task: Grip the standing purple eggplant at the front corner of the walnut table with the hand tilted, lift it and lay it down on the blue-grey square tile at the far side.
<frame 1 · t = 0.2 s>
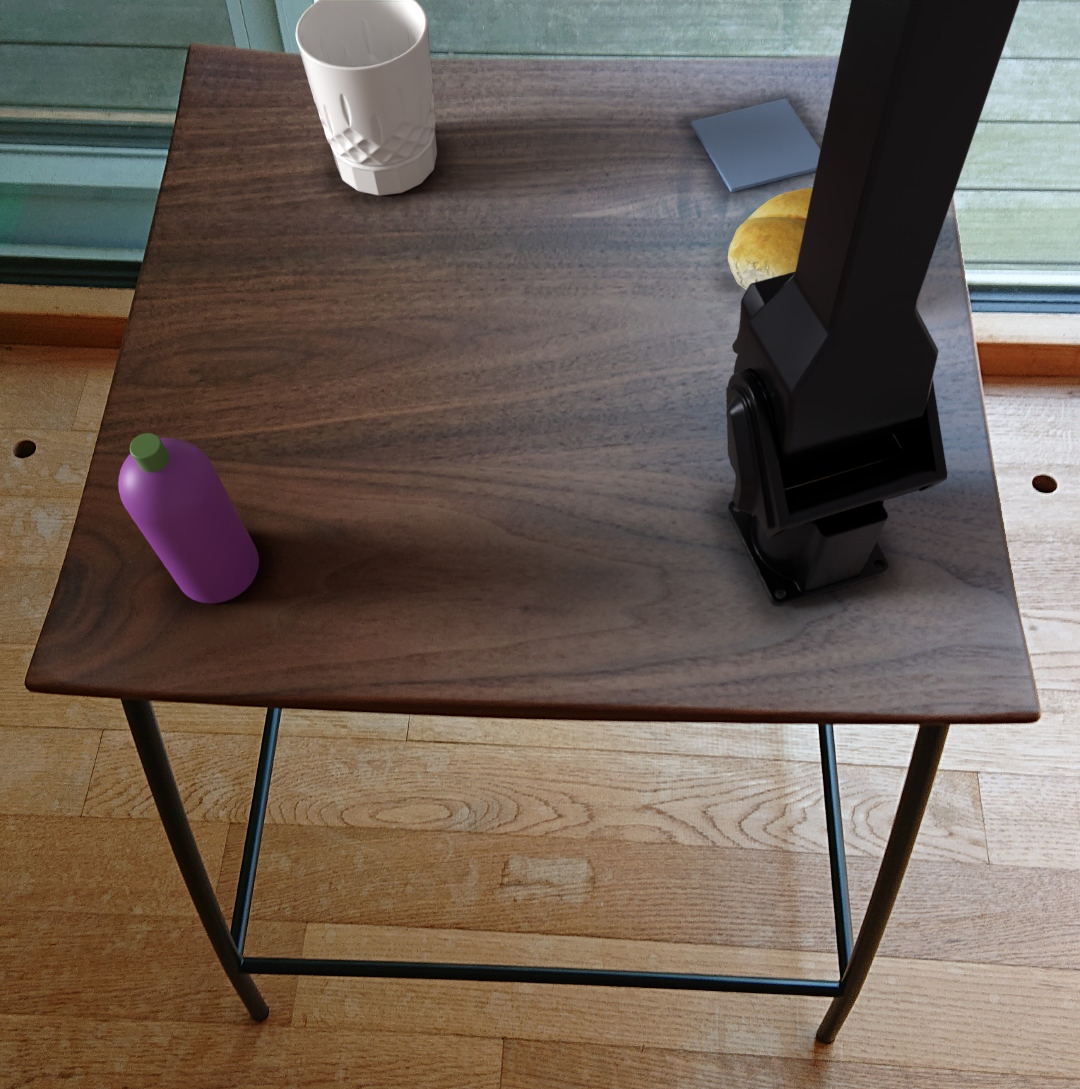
blue-grey square tile: (758, 145, 73), on the table
eggplant: (218, 567, 58), on the table
white cup: (387, 164, 73), on the table
bread roll: (800, 269, 67), on the table
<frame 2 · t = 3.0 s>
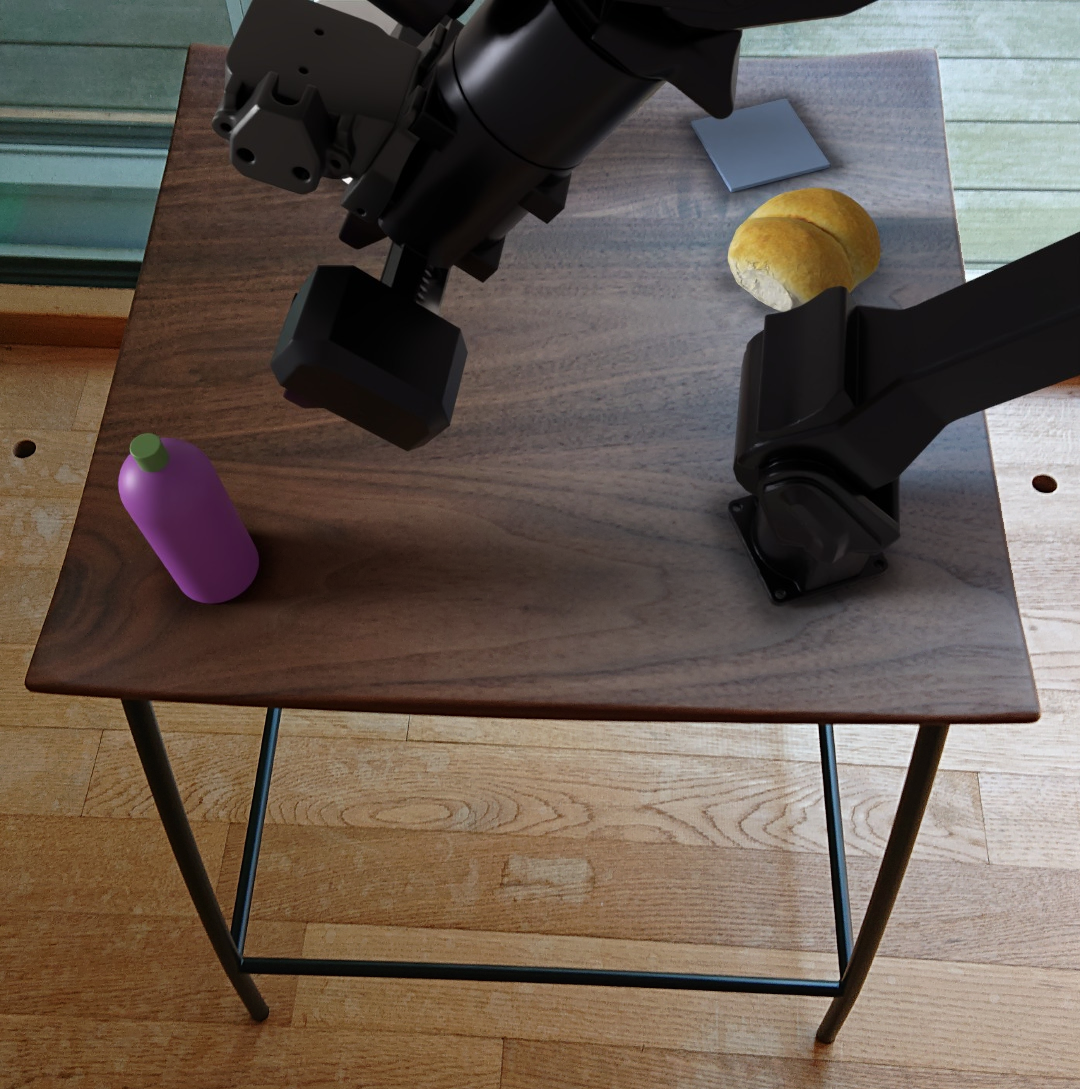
hand: (322, 317, 48), 14 cm above the table, tool tilted 40°, fingers open, 9 cm apart
nothing on the table moved.
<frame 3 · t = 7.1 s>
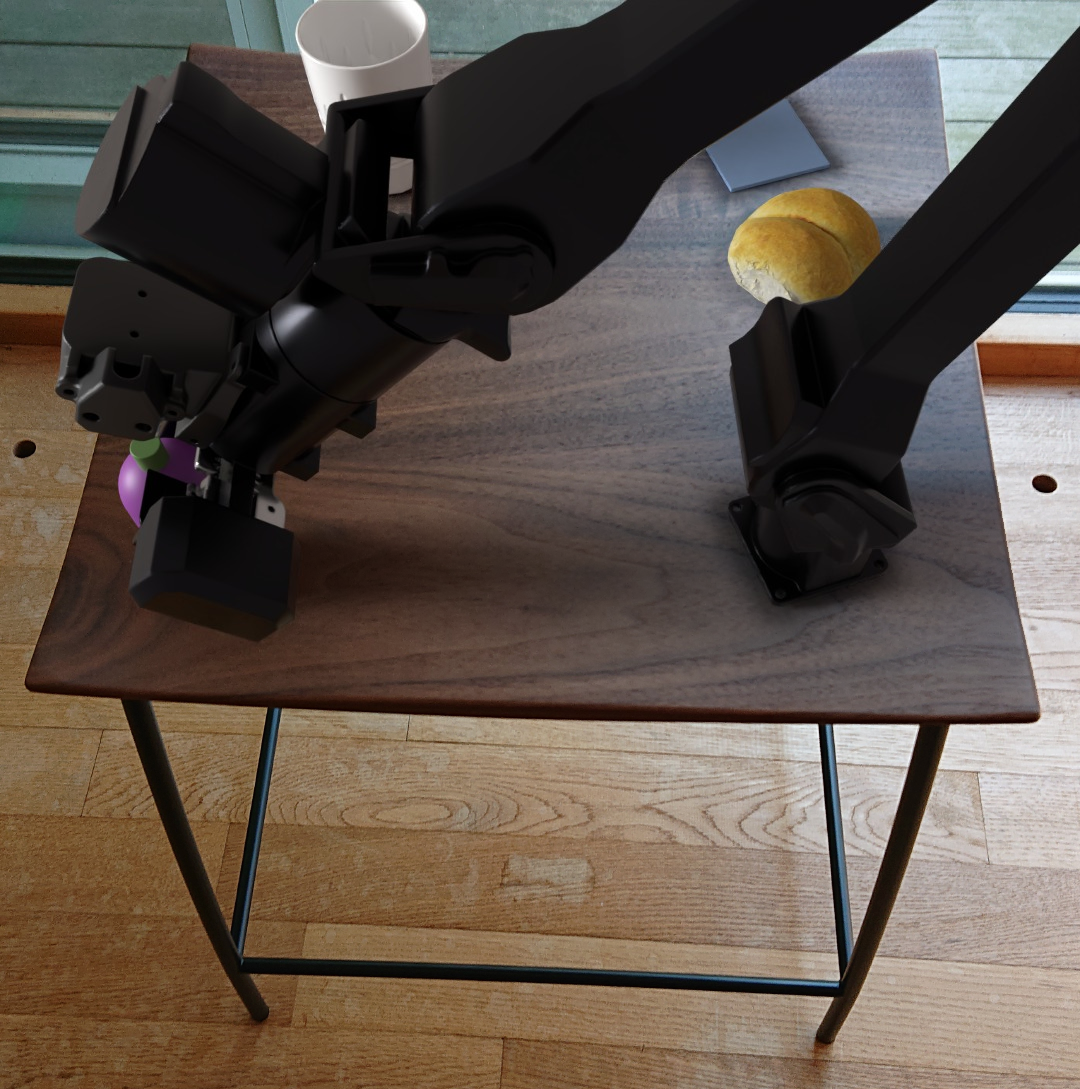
hand: (149, 502, 52), 7 cm above the table, tool tilted 45°, fingers closed on eggplant, 4 cm apart
eggplant: (218, 567, 58), on the table, touching gripper
everything else where it was.
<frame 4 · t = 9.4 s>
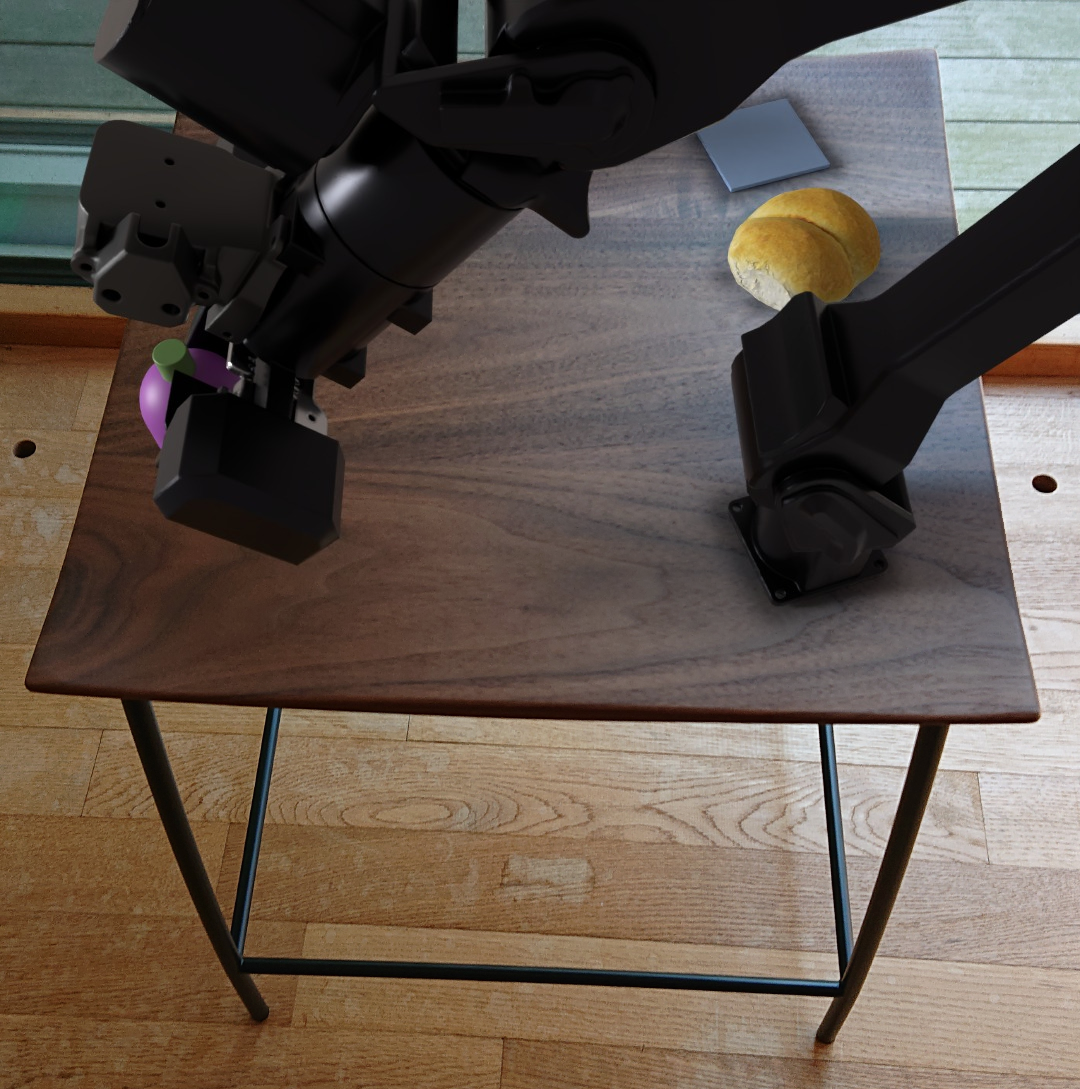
hand: (173, 422, 47), 12 cm above the table, tool tilted 45°, fingers closed on eggplant, 4 cm apart
eggplant: (246, 502, 53), point 6 cm above the table, touching gripper
everything else where it was.
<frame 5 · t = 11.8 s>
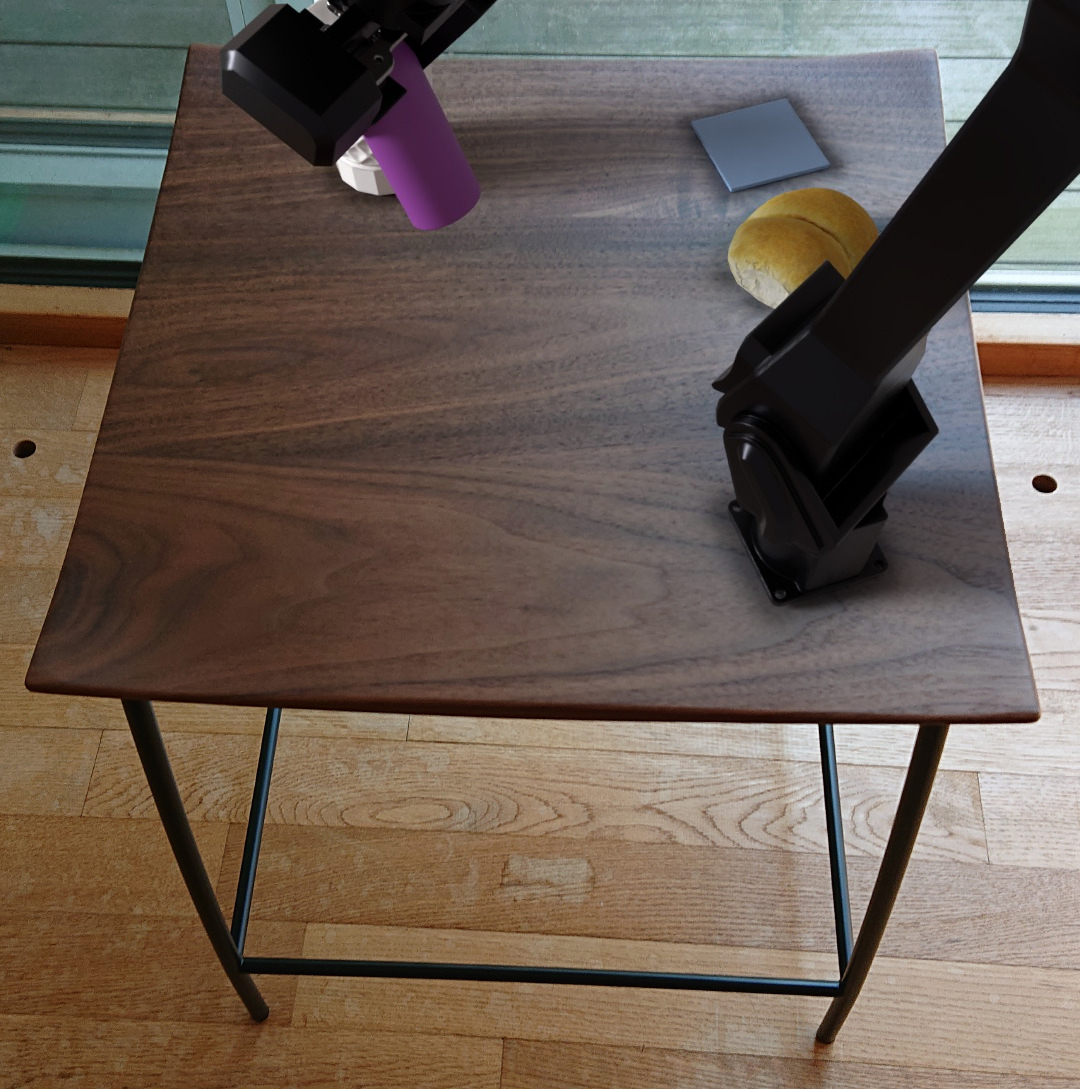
hand: (376, 102, 58), 12 cm above the table, tool tilted 25°, fingers closed on eggplant, 4 cm apart
eggplant: (446, 205, 62), point 6 cm above the table, tilted 22°, touching gripper
everything else where it was.
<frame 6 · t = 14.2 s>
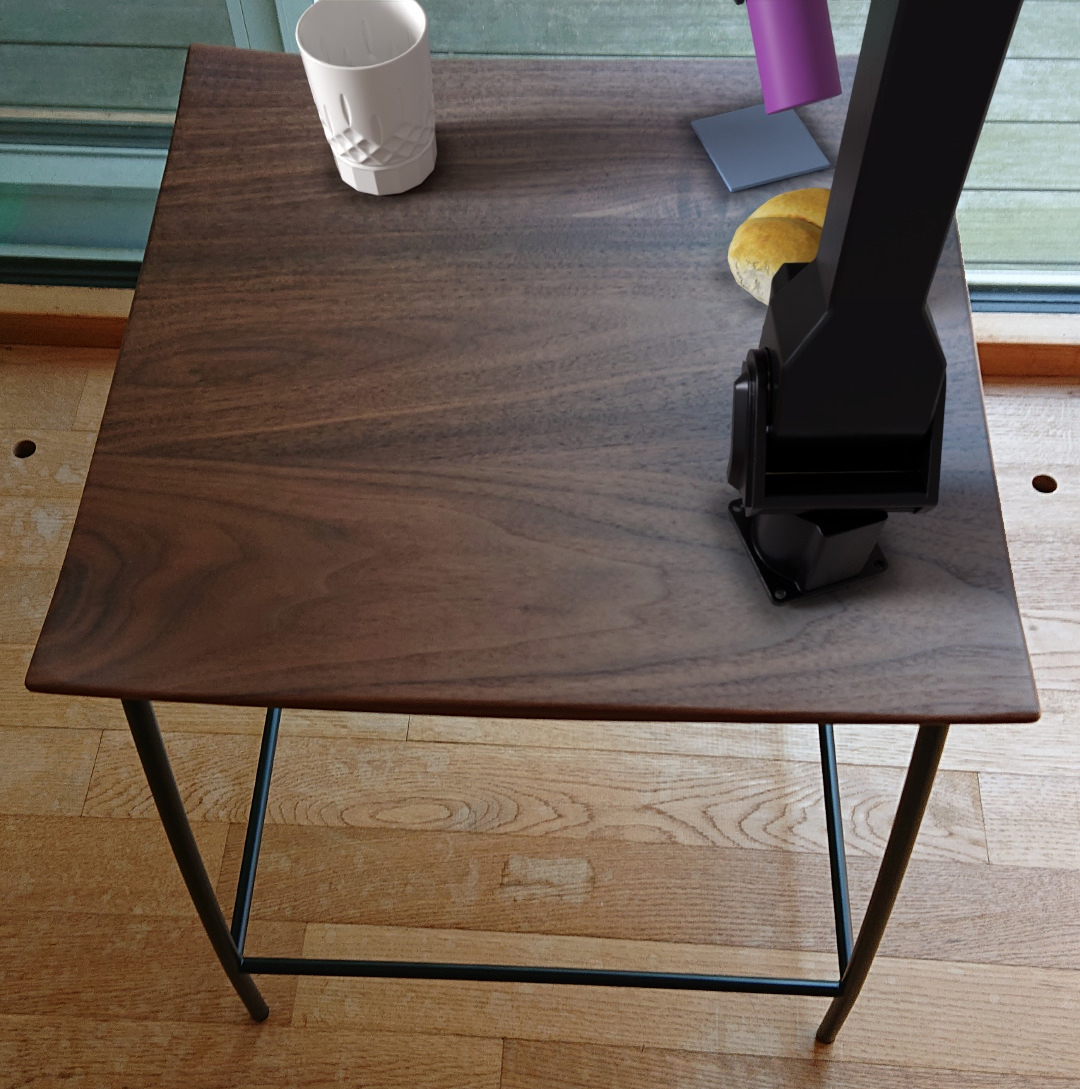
eggplant: (804, 104, 64), point 7 cm above the table, tilted 44°, touching gripper
everything else where it was.
when the fingers open (5 cm above the table, at t = 16.3 s): eggplant moves 2 cm and tips over, resting on blue-grey square tile.
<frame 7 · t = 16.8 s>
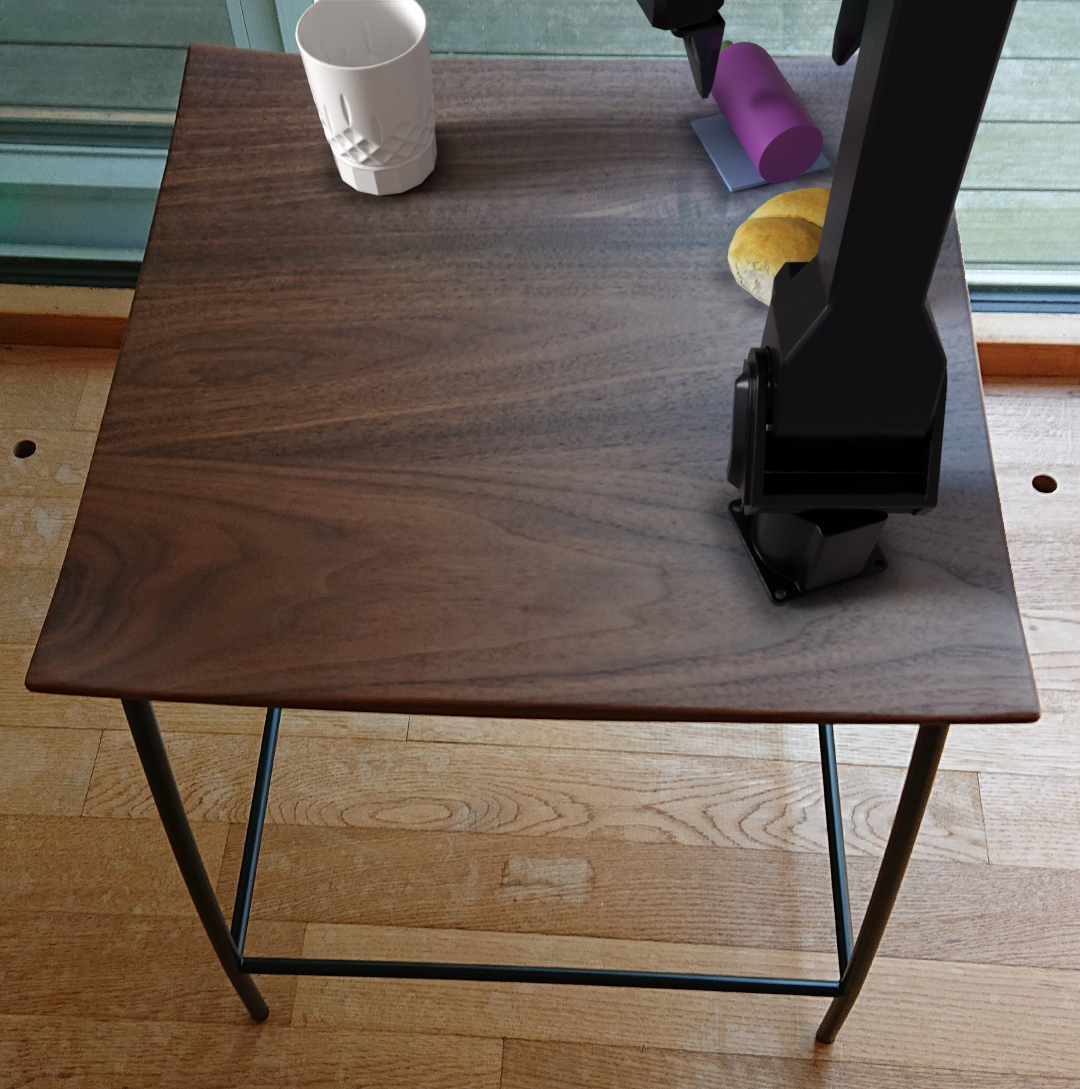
hand: (770, 78, 68), 5 cm above the table, tool pointing down, fingers open, 9 cm apart
eggplant: (791, 155, 68), point 3 cm above the table, tilted 90°, touching blue-grey square tile
everything else where it was.
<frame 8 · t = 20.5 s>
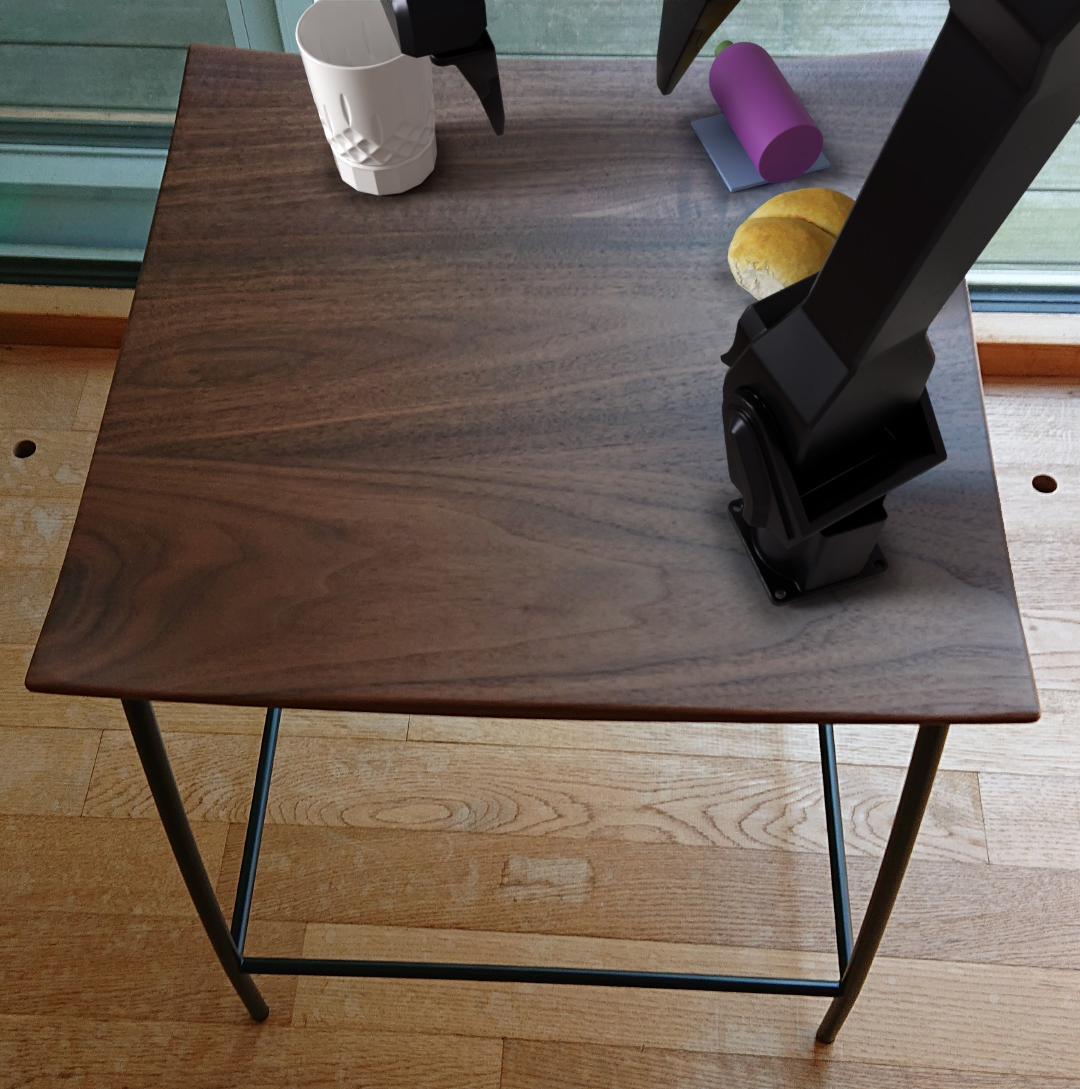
hand: (581, 110, 57), 12 cm above the table, tool pointing down, fingers open, 9 cm apart
nothing on the table moved.
at the end: eggplant inside the target area on the blue-grey square tile (4.1 cm from its centre), point 2.5 cm above the blue-grey square tile's base; the gripper is holding nothing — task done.
